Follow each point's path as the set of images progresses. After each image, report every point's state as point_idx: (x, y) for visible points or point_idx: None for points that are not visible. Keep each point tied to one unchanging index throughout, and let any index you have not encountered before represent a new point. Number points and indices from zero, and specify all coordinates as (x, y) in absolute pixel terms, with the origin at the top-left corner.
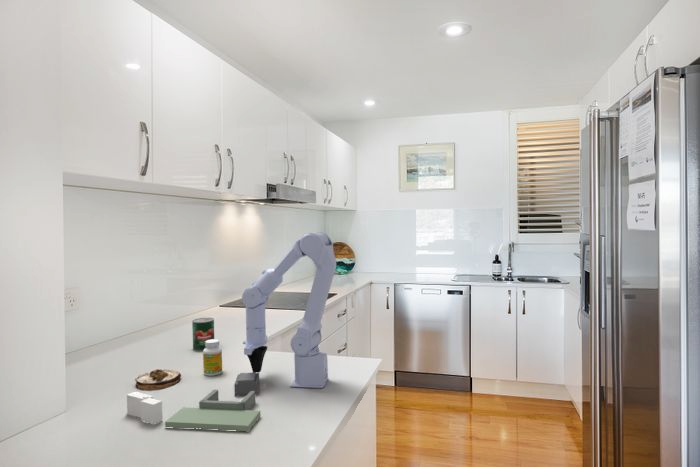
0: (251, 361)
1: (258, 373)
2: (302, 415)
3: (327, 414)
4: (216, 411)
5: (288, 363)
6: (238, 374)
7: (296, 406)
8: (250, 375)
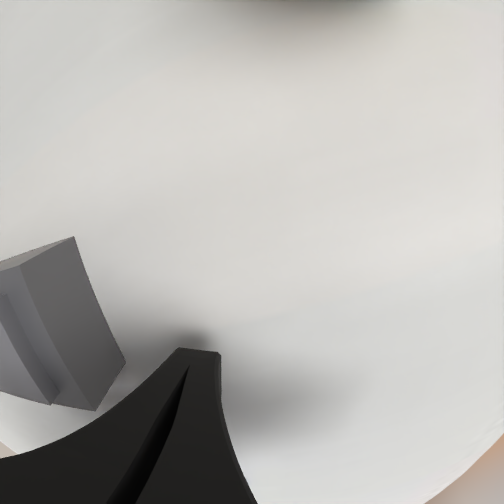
0: (118, 424)
1: (86, 407)
2: (17, 436)
3: None
4: None
5: (468, 402)
6: (19, 269)
7: (36, 439)
8: (4, 373)
